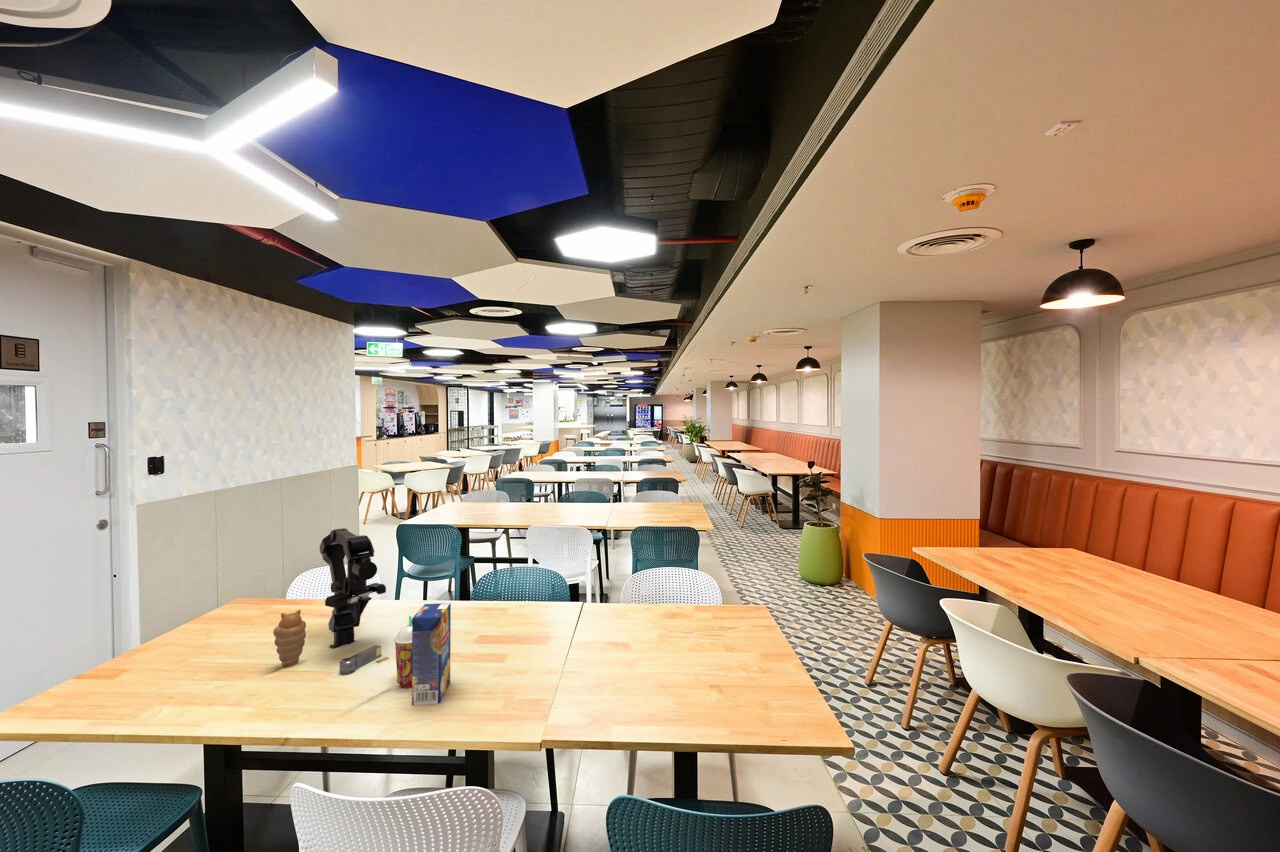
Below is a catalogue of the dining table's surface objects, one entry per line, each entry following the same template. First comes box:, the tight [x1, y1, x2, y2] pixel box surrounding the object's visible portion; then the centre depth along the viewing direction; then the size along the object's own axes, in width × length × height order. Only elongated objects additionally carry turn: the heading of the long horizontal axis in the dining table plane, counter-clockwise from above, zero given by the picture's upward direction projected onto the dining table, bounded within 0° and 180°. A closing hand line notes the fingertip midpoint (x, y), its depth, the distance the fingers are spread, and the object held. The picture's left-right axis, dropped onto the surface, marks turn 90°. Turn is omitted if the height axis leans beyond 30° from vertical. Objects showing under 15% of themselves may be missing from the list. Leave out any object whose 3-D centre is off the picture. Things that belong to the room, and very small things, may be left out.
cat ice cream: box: [272, 609, 307, 669], centre depth 167 cm, size 9×8×18 cm
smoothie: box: [394, 615, 412, 688], centre depth 156 cm, size 8×8×20 cm
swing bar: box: [339, 644, 382, 676], centre depth 165 cm, size 14×4×3 cm, turn 163°
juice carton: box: [411, 602, 452, 706], centre depth 150 cm, size 12×8×24 cm, turn 7°
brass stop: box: [374, 656, 391, 664], centre depth 169 cm, size 2×4×1 cm, turn 155°
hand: (356, 620), depth 175 cm, fingers closed
